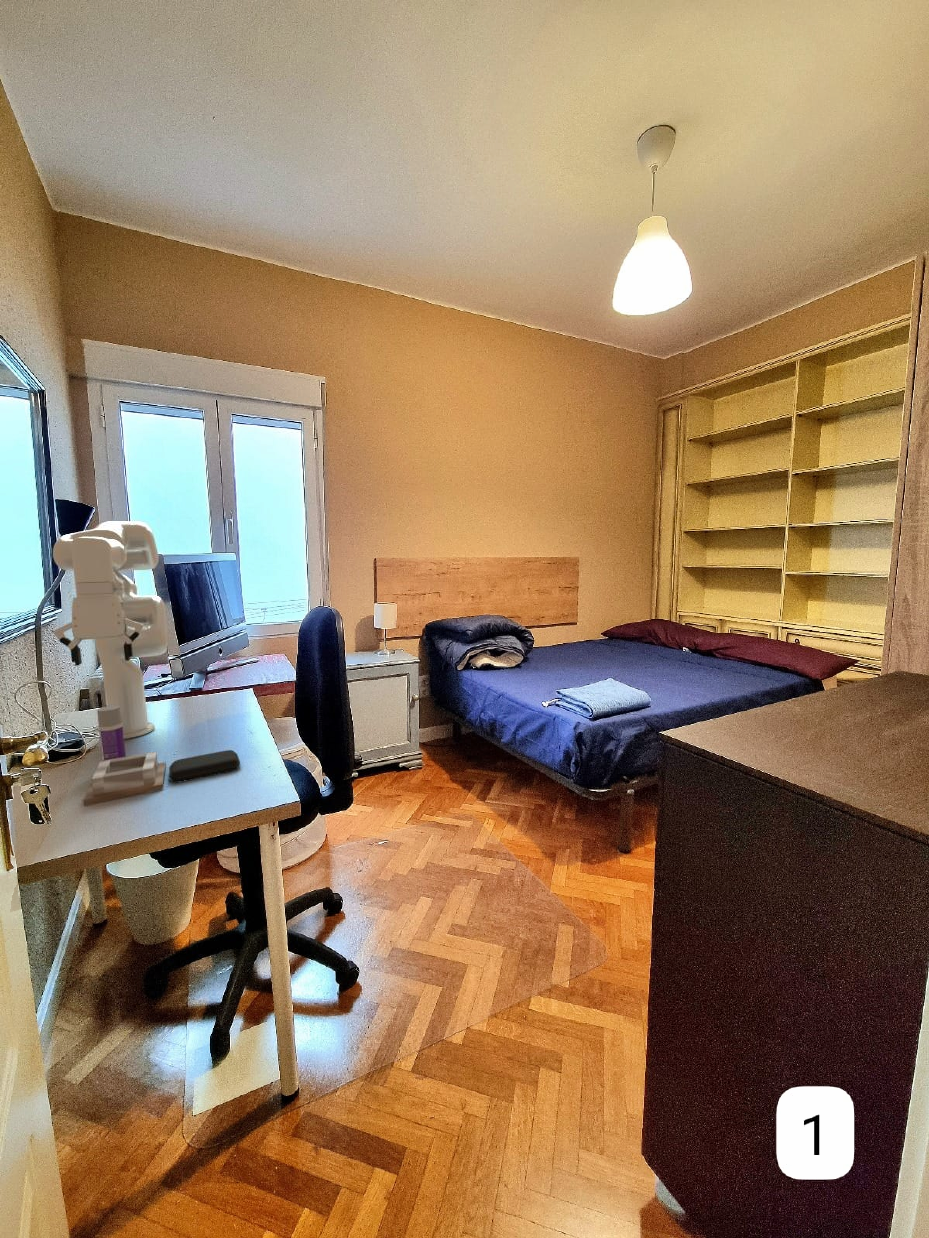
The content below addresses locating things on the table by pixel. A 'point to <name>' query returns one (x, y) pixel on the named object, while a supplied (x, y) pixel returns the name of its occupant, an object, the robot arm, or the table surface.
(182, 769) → the carrying case or bag
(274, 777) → the table surface
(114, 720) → the container
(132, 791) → the mount
